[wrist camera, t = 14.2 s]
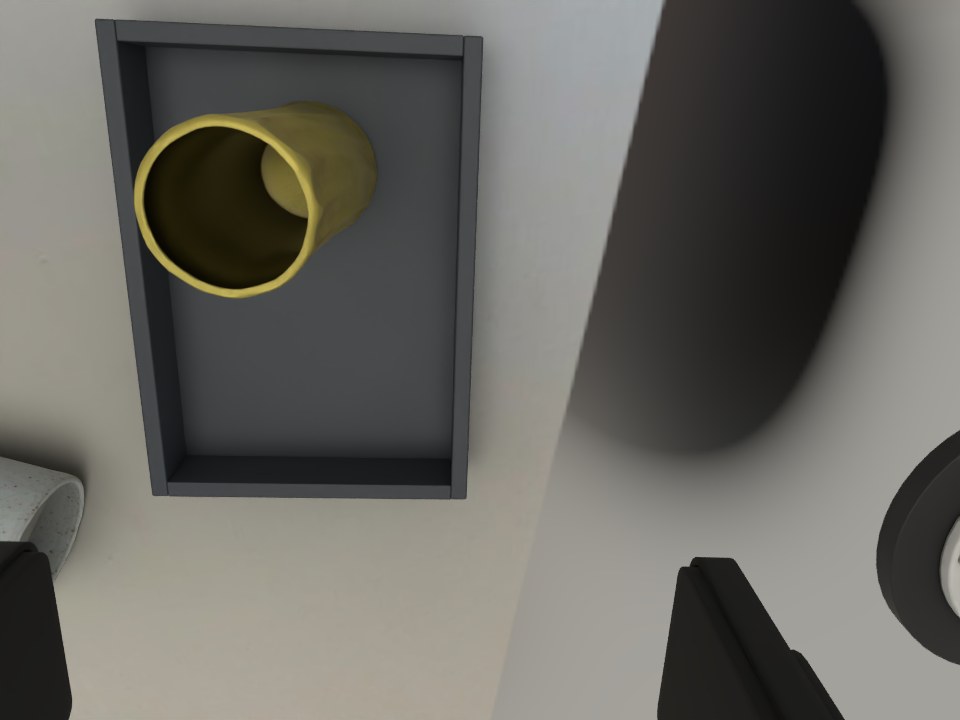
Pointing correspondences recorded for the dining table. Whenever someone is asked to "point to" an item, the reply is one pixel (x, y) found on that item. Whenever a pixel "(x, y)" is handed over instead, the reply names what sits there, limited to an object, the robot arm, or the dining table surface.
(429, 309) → the tray
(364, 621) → the dining table surface
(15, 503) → the ceramic mug
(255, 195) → the vase
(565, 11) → the dining table surface
